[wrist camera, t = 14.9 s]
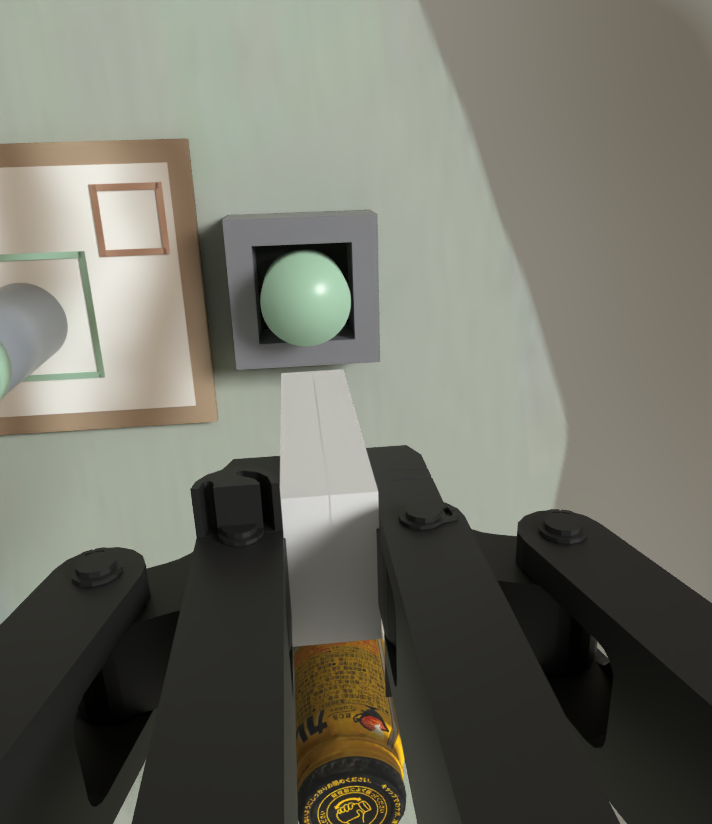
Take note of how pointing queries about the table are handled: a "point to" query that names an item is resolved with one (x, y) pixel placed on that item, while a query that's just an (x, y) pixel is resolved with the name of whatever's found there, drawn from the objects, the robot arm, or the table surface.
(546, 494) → the table surface
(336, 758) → the condiment
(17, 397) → the framed board
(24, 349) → the marker
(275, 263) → the button
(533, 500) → the table surface
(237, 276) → the button box
